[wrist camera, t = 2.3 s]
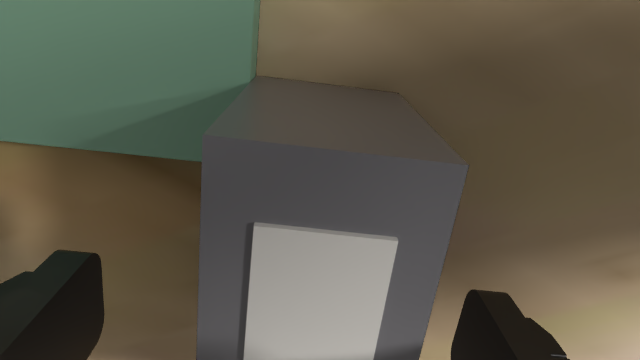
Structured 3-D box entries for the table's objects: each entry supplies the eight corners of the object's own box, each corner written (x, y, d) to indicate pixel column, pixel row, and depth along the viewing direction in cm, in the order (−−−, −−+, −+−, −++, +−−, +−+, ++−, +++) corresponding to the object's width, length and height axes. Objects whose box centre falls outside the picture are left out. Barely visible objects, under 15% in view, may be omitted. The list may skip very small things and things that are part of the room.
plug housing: (398, 92, 13) (472, 168, 7) (353, 331, 16) (377, 531, 10) (256, 75, 13) (199, 136, 7) (239, 320, 16) (190, 517, 10)
